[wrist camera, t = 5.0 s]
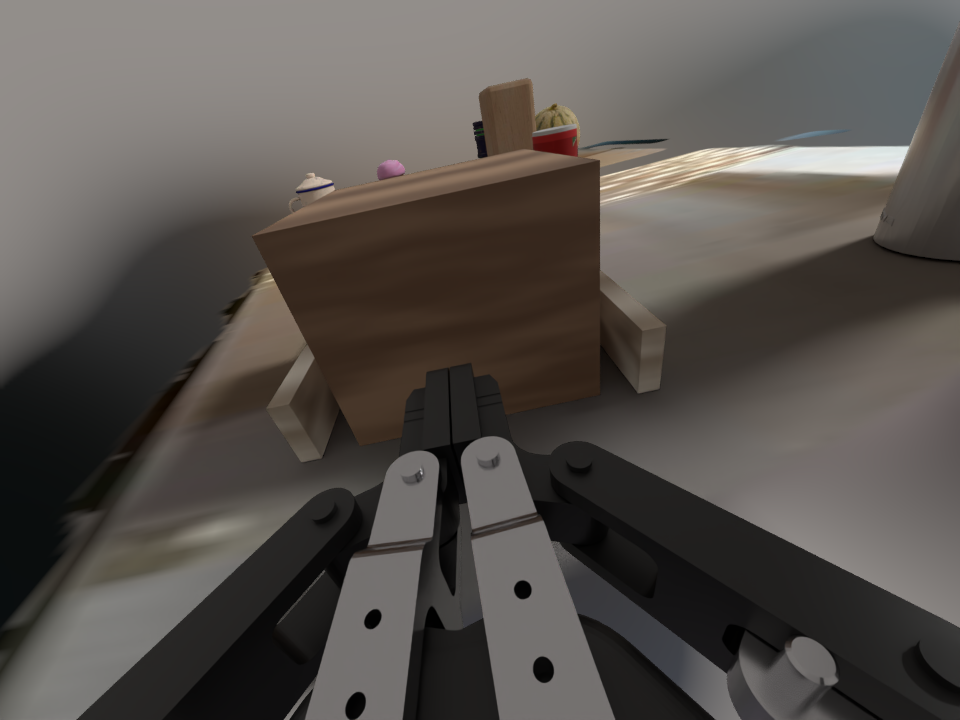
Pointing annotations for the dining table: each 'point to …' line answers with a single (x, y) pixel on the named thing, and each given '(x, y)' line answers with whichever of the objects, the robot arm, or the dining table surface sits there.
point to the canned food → (557, 140)
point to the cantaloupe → (556, 118)
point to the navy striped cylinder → (480, 139)
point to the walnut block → (448, 283)
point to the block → (508, 116)
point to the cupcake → (390, 169)
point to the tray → (623, 334)
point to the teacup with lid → (312, 190)
